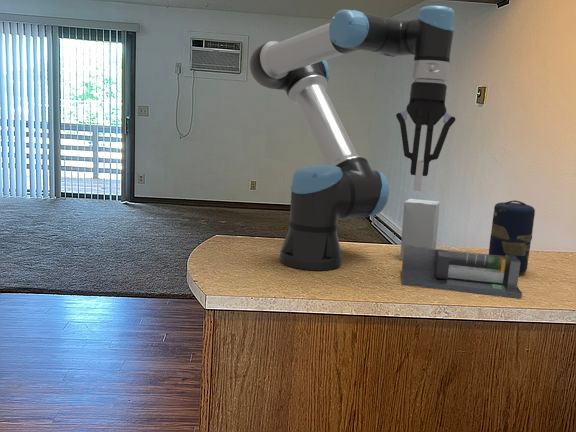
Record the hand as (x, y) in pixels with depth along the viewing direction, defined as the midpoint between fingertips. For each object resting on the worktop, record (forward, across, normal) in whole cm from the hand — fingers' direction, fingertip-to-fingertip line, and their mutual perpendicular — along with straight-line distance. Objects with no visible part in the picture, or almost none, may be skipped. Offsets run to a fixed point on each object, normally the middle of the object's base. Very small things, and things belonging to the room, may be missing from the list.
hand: (417, 189), depth 126 cm
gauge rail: (+20, +11, 0) cm, 23 cm away
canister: (+21, +25, +17) cm, 36 cm away
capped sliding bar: (+19, +13, 0) cm, 23 cm away
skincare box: (+21, +3, +19) cm, 28 cm away
